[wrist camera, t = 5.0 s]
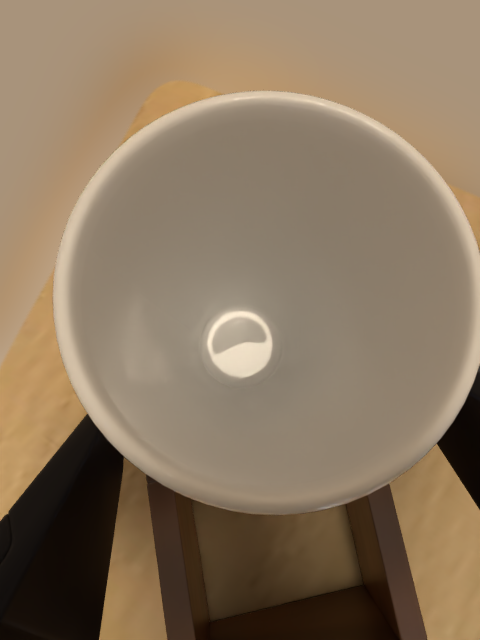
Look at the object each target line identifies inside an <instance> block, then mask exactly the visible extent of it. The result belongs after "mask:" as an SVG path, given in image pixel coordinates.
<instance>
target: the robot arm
mask: <svg viewBox="0 0 480 640" xmlns="http://www.w3.org/2000/svg"><path fill="white" fill-rule="evenodd" d="M437 445H438V446H439V448H440V449H441V451H442V452H443V454H444V455H445V457H446V458H447V460H448V462H449V463H450V465H451V466H452V468H453V469H454V471H455V472H456V474H457V475H458V477H459V478H460V480H461V482H462V483H463V485H464V486H465V488H466V489H467V491H468V492H469V494H470V495H471V497H472V499H473V500H474V502H475V503H476V505H477V506H478V508H479V509H480V372H479V371H477V374H476V377H475V380H474V383H473V385H472V388H471V390H470V392H469V394H468V396H467V399H466V401H465V403H464V405H463V406H462V408H461V410H460V411H459V413H458V415H457V417H456V418H455V420H454V422H453V423H452V424H451V426H450V427H449V428H448V430H447V431H446V432H445V434H444V435H443V436H442V438H441V439H440V440H439V441H438V442H437ZM123 460H124V456H123V455H122V454H121V453H120V452H119V451H118V450H117V449H116V448H115V447H114V446H113V445H112V444H111V443H110V442H109V441H108V440H107V439H106V437H105V436H104V435H103V434H102V433H101V431H100V430H99V429H98V428H97V426H96V425H95V424H94V423H93V421H92V420H91V418H90V416H89V415H88V414H87V415H86V416H85V417H84V419H83V420H82V421H81V422H80V423H79V425H78V426H77V427H76V428H75V430H74V431H73V432H72V433H71V435H70V436H69V437H68V438H67V440H66V441H65V442H64V443H63V445H62V446H61V447H60V448H59V449H58V451H57V452H56V453H55V454H54V456H53V457H52V458H51V459H50V461H49V462H48V463H47V464H46V466H45V467H44V468H43V469H42V471H41V472H40V473H39V474H38V475H37V477H36V478H35V479H34V480H33V482H32V483H31V484H30V485H29V487H28V488H27V489H26V490H25V492H24V493H23V494H22V495H21V497H20V498H19V499H18V500H17V501H16V503H15V504H14V505H13V506H12V508H11V509H10V510H9V512H8V514H6V515H5V516H4V517H3V519H2V520H1V521H0V640H99V635H100V628H101V621H102V614H103V607H104V600H105V593H106V586H107V579H108V572H109V565H110V558H111V551H112V544H113V537H114V530H115V523H116V516H117V509H118V502H119V495H120V488H121V481H122V473H123Z"/></svg>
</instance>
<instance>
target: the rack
mask: <svg viewBox="0 0 480 640" xmlns="http://www.w3.org/2000/svg"><path fill="white" fill-rule="evenodd" d="M146 480H147V488H148V496H149V503H150V511H151V518H152V526H153V534H154V541H155V549H156V556H157V564H158V572H159V579H160V587H161V594H162V602H163V609H164V617H165V625H166V632H167V640H427V635H426V631H425V627H424V623H423V619H422V615H421V611H420V607H419V603H418V599H417V595H416V591H415V586H414V582H413V578H412V574H411V570H410V566H409V562H408V558H407V554H406V550H405V546H404V542H403V538H402V534H401V530H400V526H399V522H398V518H397V513H396V509H395V505H394V501H393V497H392V493H391V489H390V485H389V484H387V485H386V486H384V487H382V488H380V489H378V490H376V491H375V492H373V493H371V494H369V495H367V496H364V497H362V498H359V499H357V500H354V501H352V502H350V503H347V504H346V507H347V511H348V516H349V520H350V524H351V529H352V533H353V538H354V542H355V547H356V551H357V556H358V560H359V565H360V569H361V574H362V578H363V583H364V585H363V586H358V587H354V588H350V589H346V590H342V591H338V592H334V593H329V594H325V595H321V596H317V597H313V598H309V599H305V600H300V601H296V602H292V603H288V604H284V605H280V606H276V607H272V608H267V609H263V610H259V611H255V612H251V613H247V614H243V615H238V616H234V617H230V618H226V619H222V620H218V621H214V622H210V619H209V613H208V606H207V600H206V593H205V587H204V580H203V573H202V567H201V560H200V554H199V547H198V540H197V534H196V527H195V521H194V514H193V507H192V501H191V498H188V497H185V496H183V495H181V494H179V493H177V492H175V491H173V490H171V489H169V488H167V487H165V486H163V485H162V484H160V483H159V482H157V481H156V480H154V479H153V478H151V477H150V476H148V475H146Z"/></svg>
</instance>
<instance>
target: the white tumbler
mask: <svg viewBox="0 0 480 640" xmlns="http://www.w3.org/2000/svg"><path fill="white" fill-rule="evenodd" d="M53 314H54V324H55V330H56V337H57V342H58V346H59V350H60V353H61V357H62V361H63V364H64V367H65V369H66V372H67V374H68V377H69V380H70V382H71V384H72V386H73V388H74V390H75V392H76V394H77V396H78V398H79V400H80V402H81V404H82V406H83V407H84V409H85V410H86V412H87V413H88V415H89V416H90V418H91V420H92V421H93V423H94V424H95V425H96V426H97V428H98V429H99V430H100V431H101V433H102V434H103V435H104V436H105V437H106V439H107V440H108V441H109V442H110V443H111V444H112V445H113V446H114V447H115V448H116V449H117V450H118V451H119V452H120V453H121V454H122V455H123V456H124V457H125V458H126V459H127V460H129V461H130V462H131V463H132V464H133V465H135V466H136V467H137V468H138V469H140V470H141V471H142V472H143V473H145V474H146V475H148V476H150V477H151V478H153V479H154V480H156V481H157V482H159V483H160V484H162V485H163V486H165V487H167V488H169V489H171V490H173V491H175V492H177V493H179V494H181V495H183V496H185V497H188V498H191V499H193V500H196V501H199V502H201V503H204V504H207V505H210V506H214V507H218V508H222V509H225V510H229V511H235V512H241V513H248V514H256V515H292V514H304V513H310V512H315V511H321V510H326V509H330V508H333V507H336V506H340V505H343V504H347V503H350V502H352V501H354V500H357V499H359V498H362V497H364V496H367V495H369V494H371V493H373V492H375V491H376V490H378V489H380V488H382V487H384V486H386V485H387V484H389V483H391V482H392V481H394V480H395V479H397V478H398V477H399V476H401V475H402V474H404V473H405V472H407V471H408V470H409V469H410V468H412V467H413V466H414V465H415V464H416V463H417V462H418V461H420V460H421V459H422V458H423V457H424V456H425V455H426V454H427V453H428V452H429V451H430V450H431V449H432V448H433V447H434V446H435V445H436V443H437V442H438V441H439V440H440V439H441V438H442V436H443V435H444V434H445V432H446V431H447V430H448V428H449V427H450V426H451V424H452V423H453V422H454V420H455V418H456V417H457V415H458V413H459V411H460V410H461V408H462V406H463V405H464V403H465V401H466V399H467V396H468V394H469V392H470V390H471V388H472V385H473V383H474V380H475V377H476V374H477V371H478V368H479V365H480V251H479V248H478V244H477V241H476V239H475V236H474V233H473V231H472V228H471V225H470V223H469V221H468V219H467V217H466V215H465V213H464V211H463V209H462V207H461V205H460V203H459V202H458V200H457V199H456V197H455V195H454V194H453V192H452V190H451V189H450V187H449V186H448V185H447V183H446V182H445V181H444V179H443V178H442V177H441V175H440V174H439V173H438V172H437V171H436V169H435V168H434V167H433V166H432V165H431V164H430V163H429V162H428V160H427V159H426V158H425V157H423V155H421V154H420V153H419V152H418V151H417V150H416V149H415V148H414V147H413V146H412V145H411V144H409V143H408V142H407V141H406V140H404V139H403V138H402V137H401V136H399V135H398V134H397V133H395V132H394V131H392V130H391V129H389V128H388V127H386V126H385V125H383V124H382V123H380V122H378V121H376V120H375V119H373V118H371V117H369V116H367V115H365V114H363V113H361V112H359V111H357V110H354V109H352V108H350V107H347V106H345V105H342V104H339V103H336V102H333V101H330V100H327V99H323V98H319V97H315V96H311V95H306V94H299V93H293V92H283V91H247V92H237V93H231V94H224V95H219V96H214V97H211V98H207V99H203V100H200V101H196V102H194V103H191V104H188V105H186V106H183V107H180V108H178V109H176V110H174V111H172V112H170V113H167V114H165V115H163V116H161V117H160V118H158V119H156V120H155V121H153V122H151V123H150V124H148V125H146V126H145V127H143V128H142V129H141V130H139V131H138V132H137V133H135V134H134V135H132V136H131V137H130V138H128V139H127V140H126V141H125V142H124V143H123V144H122V145H121V146H119V147H118V148H117V149H116V150H115V151H114V152H113V153H112V154H111V155H110V156H109V157H108V158H107V159H106V161H105V162H104V163H103V164H102V165H101V166H100V167H99V169H98V170H97V171H96V173H95V174H94V175H93V177H92V178H91V179H90V181H89V182H88V184H87V185H86V187H85V189H84V190H83V192H82V193H81V195H80V197H79V198H78V200H77V202H76V204H75V206H74V208H73V210H72V212H71V214H70V216H69V219H68V222H67V224H66V227H65V230H64V232H63V235H62V239H61V243H60V246H59V250H58V254H57V259H56V265H55V272H54V281H53Z"/></svg>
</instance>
